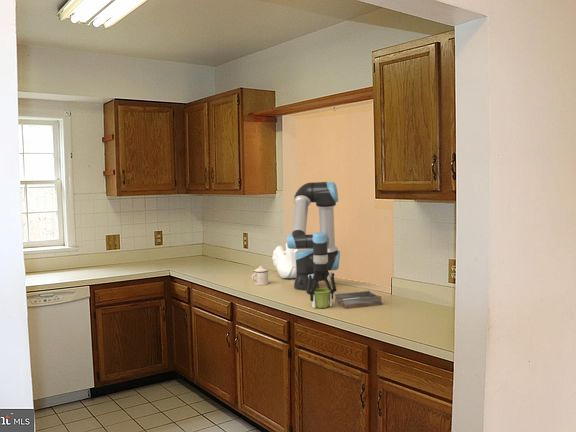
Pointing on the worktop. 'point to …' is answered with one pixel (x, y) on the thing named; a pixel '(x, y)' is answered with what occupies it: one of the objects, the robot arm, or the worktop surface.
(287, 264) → the decorative rooster
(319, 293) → the plant pot
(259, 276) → the teacup with lid
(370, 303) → the dock
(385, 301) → the worktop surface
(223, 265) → the worktop surface
